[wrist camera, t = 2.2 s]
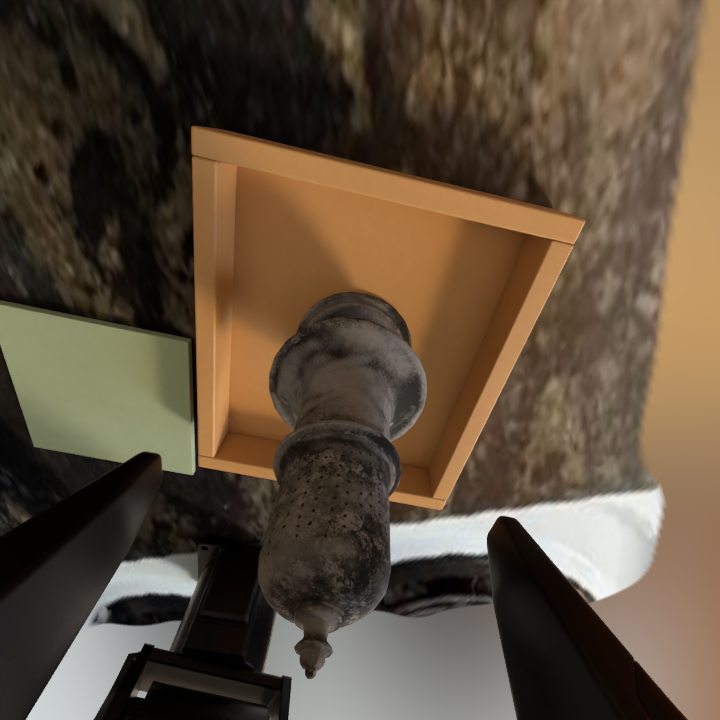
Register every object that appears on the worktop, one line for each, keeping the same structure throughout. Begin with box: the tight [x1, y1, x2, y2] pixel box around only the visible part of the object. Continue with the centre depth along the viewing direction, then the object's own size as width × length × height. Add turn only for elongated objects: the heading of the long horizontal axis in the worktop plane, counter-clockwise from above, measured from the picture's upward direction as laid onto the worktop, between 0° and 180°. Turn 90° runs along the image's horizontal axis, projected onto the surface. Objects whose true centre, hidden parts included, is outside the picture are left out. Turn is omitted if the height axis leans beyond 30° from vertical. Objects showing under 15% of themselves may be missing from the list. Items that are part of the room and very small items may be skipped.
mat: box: [0, 300, 195, 475], centre depth 19 cm, size 9×9×1 cm
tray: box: [191, 126, 585, 510], centre depth 16 cm, size 15×13×2 cm
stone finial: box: [258, 292, 427, 679], centre depth 11 cm, size 6×6×12 cm
